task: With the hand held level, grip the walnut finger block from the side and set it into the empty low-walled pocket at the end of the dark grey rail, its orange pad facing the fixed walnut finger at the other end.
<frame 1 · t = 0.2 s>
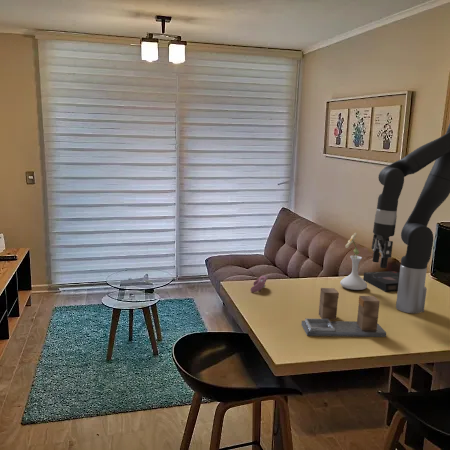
hand: (379, 264, 174), 17 cm above the table, tool pointing down, fingers open, 8 cm apart
rail: (342, 330, 156), on the table
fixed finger: (366, 331, 156), resting on rail
portable cd player: (389, 286, 208), on the table
flower in vase: (352, 288, 201), on the table
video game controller: (258, 290, 195), on the table
walnut finger: (327, 316, 167), on the table
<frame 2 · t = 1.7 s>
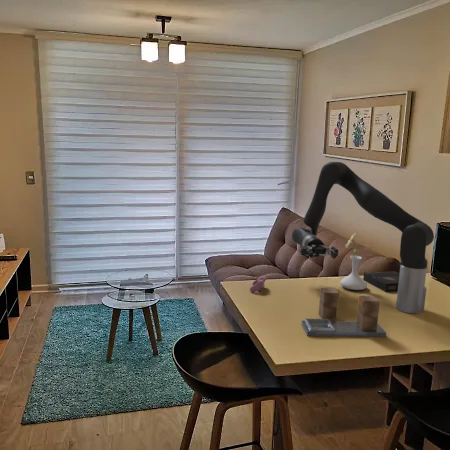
hand: (323, 255, 175), 20 cm above the table, tool horizontal, fingers open, 8 cm apart
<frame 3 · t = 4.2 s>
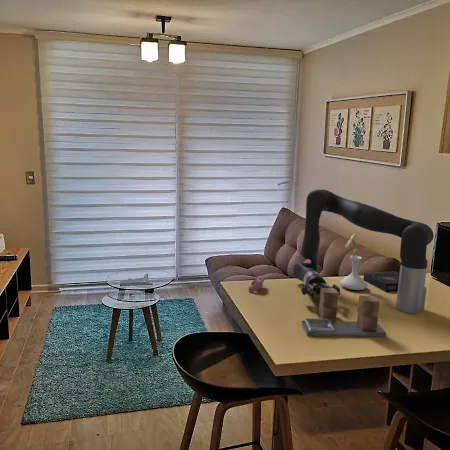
hand: (324, 296, 171), 6 cm above the table, tool horizontal, fingers open, 8 cm apart
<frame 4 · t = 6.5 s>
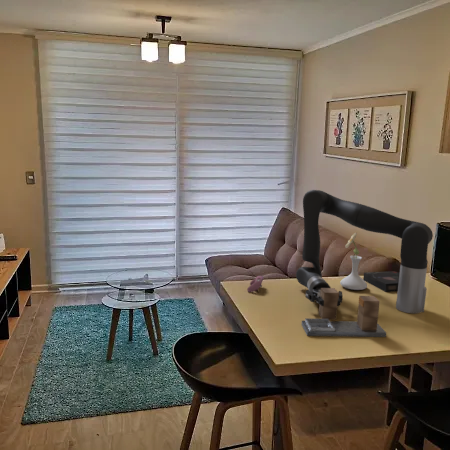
hand: (330, 303, 164), 6 cm above the table, tool horizontal, fingers closed on walnut finger, 5 cm apart
walnut finger: (327, 316, 167), on the table, touching gripper
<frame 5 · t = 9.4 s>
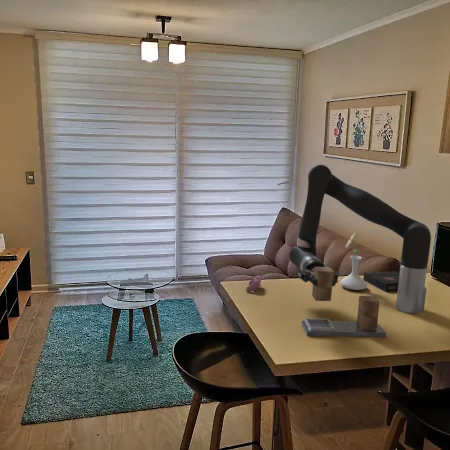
hand: (325, 283, 150), 17 cm above the table, tool horizontal, fingers closed on walnut finger, 5 cm apart
walnut finger: (321, 298, 153), point 11 cm above the table, touching gripper
when the fingers open (8 cm above the table, at t = 12.3 s): walnut finger stays where it is, resting on rail.
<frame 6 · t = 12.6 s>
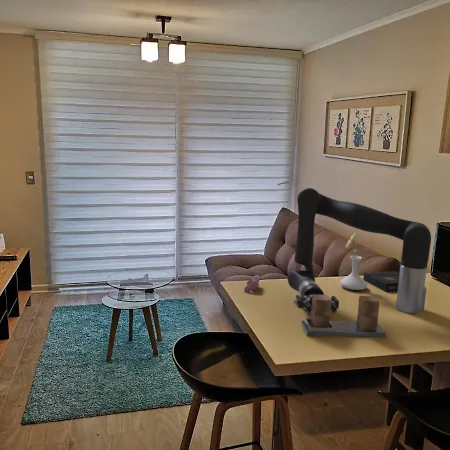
hand: (322, 309, 152), 8 cm above the table, tool horizontal, fingers open, 7 cm apart
walnut finger: (319, 325, 155), point 1 cm above the table, touching rail
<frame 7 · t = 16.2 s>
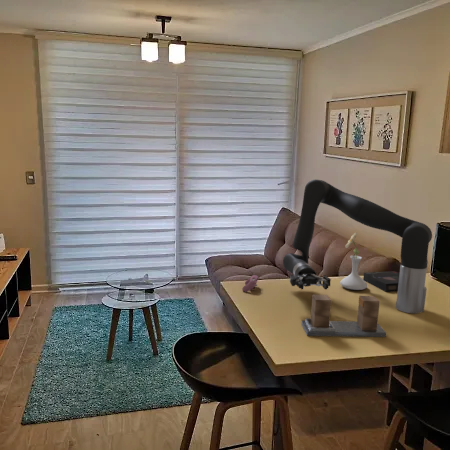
hand: (314, 286, 164), 11 cm above the table, tool horizontal, fingers open, 8 cm apart
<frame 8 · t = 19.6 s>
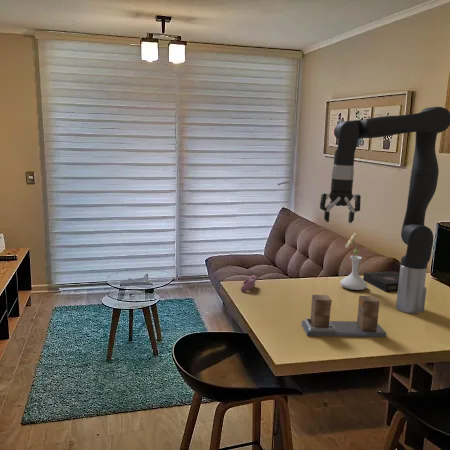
hand: (338, 222, 170), 33 cm above the table, tool pointing down, fingers open, 8 cm apart
at the end: walnut finger 0.1 cm from the target spot on the rail, point 1.5 cm above the rail's base; walnut finger tilted 0°; the gripper is holding nothing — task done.
